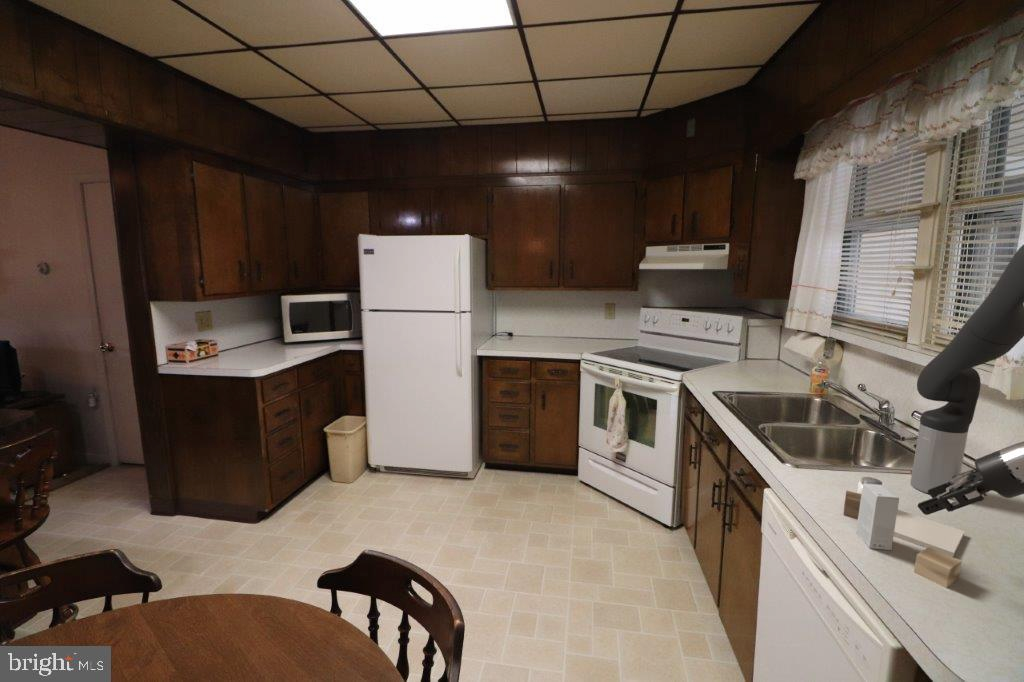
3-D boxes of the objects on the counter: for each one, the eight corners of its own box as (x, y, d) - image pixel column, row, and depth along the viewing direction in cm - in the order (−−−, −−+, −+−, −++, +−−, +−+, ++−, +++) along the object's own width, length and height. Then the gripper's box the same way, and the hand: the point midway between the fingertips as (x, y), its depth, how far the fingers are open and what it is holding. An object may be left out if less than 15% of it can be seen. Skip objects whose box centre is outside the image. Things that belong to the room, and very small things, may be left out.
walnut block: (844, 507, 116) (846, 490, 115) (866, 513, 114) (869, 495, 113) (843, 515, 113) (845, 498, 112) (866, 521, 110) (869, 503, 109)
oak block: (925, 565, 95) (928, 547, 94) (958, 579, 91) (961, 561, 90) (913, 573, 93) (916, 554, 92) (946, 588, 88) (949, 569, 88)
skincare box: (892, 551, 99) (900, 498, 97) (869, 548, 100) (877, 496, 98) (876, 534, 105) (884, 484, 103) (854, 532, 106) (861, 482, 104)
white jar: (859, 500, 120) (862, 474, 118) (883, 508, 116) (887, 481, 115) (852, 506, 117) (856, 480, 115) (877, 515, 113) (881, 487, 111)
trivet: (895, 512, 114) (896, 509, 113) (963, 535, 104) (964, 531, 104) (881, 531, 106) (881, 527, 106) (953, 557, 97) (953, 552, 97)
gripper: (1006, 439, 90) (919, 474, 101) (996, 460, 81) (902, 496, 92) (1042, 475, 87) (948, 507, 97) (1036, 501, 78) (933, 533, 89)
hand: (926, 502), depth 95 cm, fingers open, 8 cm apart
